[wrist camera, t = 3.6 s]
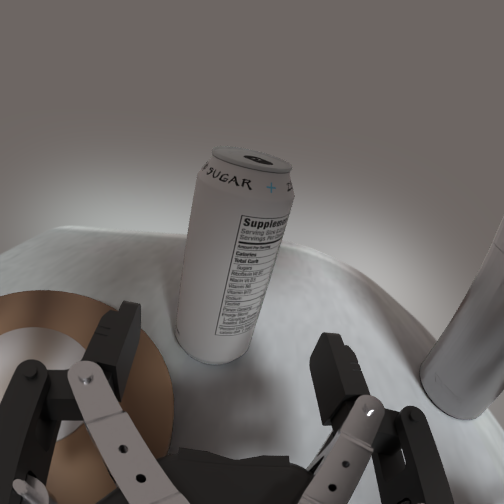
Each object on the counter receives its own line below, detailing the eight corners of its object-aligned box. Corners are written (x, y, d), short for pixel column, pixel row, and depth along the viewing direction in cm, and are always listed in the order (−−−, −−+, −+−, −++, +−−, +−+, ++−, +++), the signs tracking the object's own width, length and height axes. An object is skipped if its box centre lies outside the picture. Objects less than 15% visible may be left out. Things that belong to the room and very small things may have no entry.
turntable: (139, 299, 25) (139, 282, 25) (221, 504, 12) (227, 496, 11) (-47, 308, 16) (-53, 291, 16) (-72, 511, 3) (-89, 500, 2)
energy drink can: (214, 310, 28) (250, 145, 22) (262, 350, 25) (320, 172, 19) (160, 332, 24) (182, 143, 17) (207, 382, 21) (255, 172, 14)
